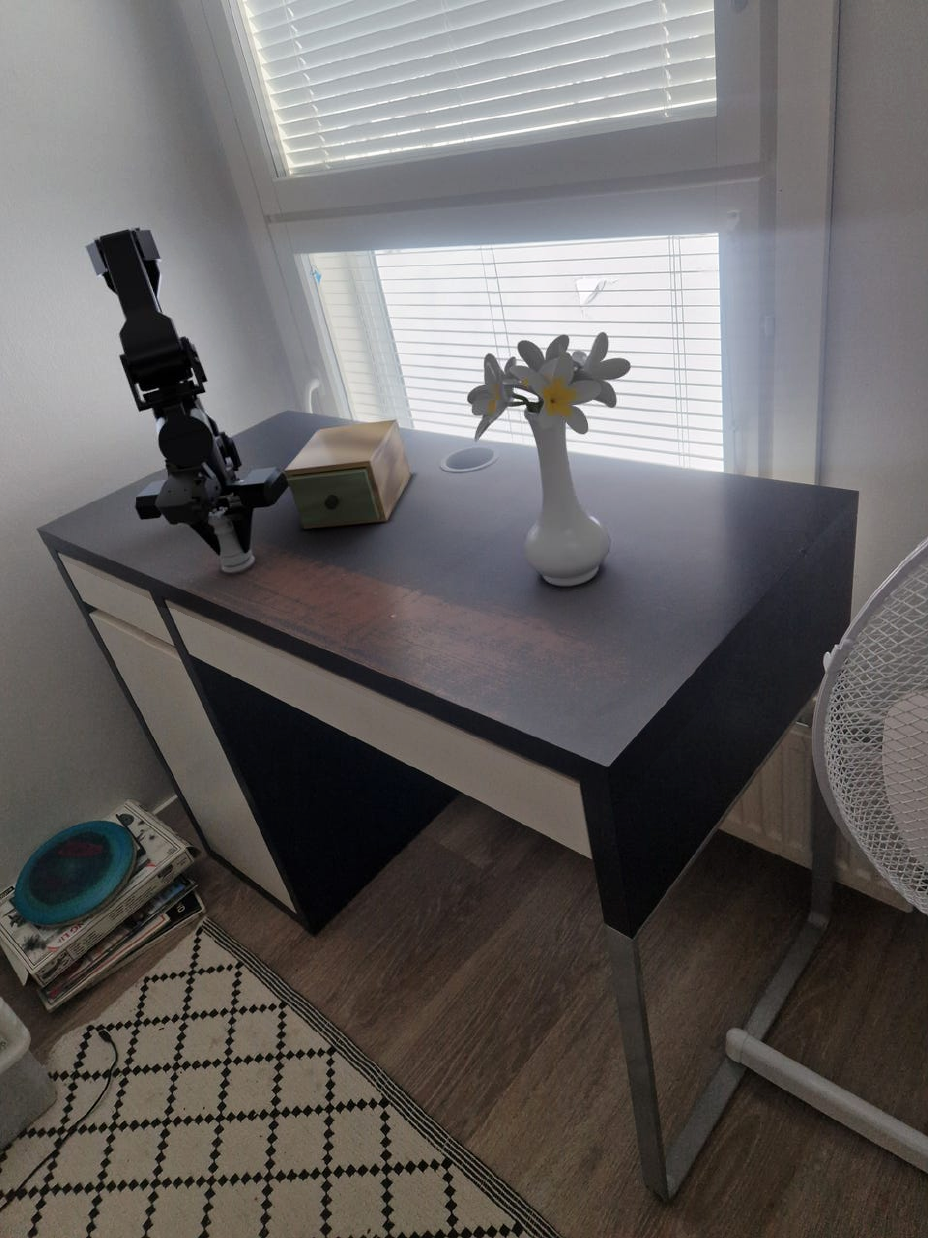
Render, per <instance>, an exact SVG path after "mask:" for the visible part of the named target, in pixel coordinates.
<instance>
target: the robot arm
mask: <svg viewBox="0 0 928 1238" xmlns="http://www.w3.org/2000/svg"><path fill="white" fill-rule="evenodd" d="M84 248H85V251H86V253H87V255H88V259H89V260H90V263H91V265H92V268H93V270H94V273H95V276H96V277H98V278H99V279H100V278H103V279H104V281H105V283H106V286H107V287H108V289H109V290H111V292H112V293H114V294H115V295H116V296H117V299H118V301H119V305H120V308H121V311H122V315H123V317H124V320H125V321H124V322H123V324H122V326H121V328H120V329H119V332H118V337H119V341H120V345H121V348H122V351H123V353H120V354H118V357H119V361H120V363H121V366H122V369H123V372H124V375H125V377H126V380H127V382H128V385H129V388H130V391H131V394H132V396H133V399H134V402H135V405H136V408H137V411H138V412H139V413H141V412H144V411H147V410H150V411H151V414H152V416H153V419H154V421H155V423H156V424H155V425H156V426H155V427H156V436H157V444H158V448H159V451H160V453H161V454H162V456H163V457H164V458H165V459H164V463H165V464H164V465H165V468H166V471H167V479H163V480H154V481H152V482H150V483H149V484H148V485H147V486H146V487H145V488H144V489H143V490H142V491H140V492H139V494H137V496H135V499H134V509H135V511H136V513H137V516H138V518H139V520H141V521H144V520H153V519H154V520H155V519H160V518H161V517H162V516H163V518H165V520H166V521H167V522H168V523H169V525H170V526H171V525H172V526H175V525H176V526H177V525H178V524H184V525H186V526H189V527H190V528H191V529H192V530H193V531H195V533H197V534H198V536H199V537H201V539H202V540H203V541H204V542H205V543H206V544H207V545H208V546H209V547H210V549H212V551H214V553H215V554H216V555H217V556H221V555H220V552H221V548H220V543H219V539H218V537H217V534H215V533H214V530H215V528H214V527H213V526H212V525H210V524H209V523H208V520H209V516H208V515H209V512H212V514H213V511H212V510H214V509H216V510H217V512H218V511H220V509H219V508H220V507H223V508H225V507H227V508H228V509H227V510H226V511H225V512H224V514H223V515H224V516H225V517H227V518H228V519H230V520H231V522H232V525H233V528H234V530H235V533H236V536H237V539H238V541H239V544H240V546H241V548H242V550H243V552H244V553H248V551H249V550H250V549H251V539H252V527H253V515H254V509H261V508H269V507H271V506H274V505H275V504H276V503H277V502H278V500H280V498H281V496H282V495H283V494H284V493H285V491H286V490H287V489H288V488H289V487H290V486H289V483H288V480H287V477H286V474H285V471H283V470H282V469H280V468H279V467H277V466H275V467H267V468H257V469H252V470H251V471H250V473H249V474H248V475H247V476H246V477H245V478H244V479H240V478H239V477H237V476H236V475H237V474H236V473H235V472H238V471H240V467H242V466H243V464H242V460H241V458H240V456H239V455H240V454H239V453H238V450H237V447H236V445H235V441H234V439H233V438H232V437H229V435H228V434H227V433H226V431H225V430H221V431H220V430H219V427H218V424H217V421H216V420H215V418H213V416H211V415H210V414H209V413H207V412H206V411H205V408H204V406H203V405H204V404H203V402H202V400H201V397H200V395H202V394H205V393H207V392H206V388H205V386H204V384H205V383H207V382H208V378H207V375H206V372H205V370H204V367H203V364H202V362H201V361H202V360H201V359H200V355H199V354H198V350H197V348H196V345H195V344H194V343H192V342H191V341H190V340H189V337H187V335H184V336H180V335H179V331H178V330H177V327H176V325H175V322H174V319H173V318H172V317H170V316H169V315H167V314H166V313H164V311H163V308H162V305H161V303H160V300H159V296H160V291H161V286H162V279H163V275H162V271H161V270H160V267H159V265H158V263H161V262H163V260H162V257H161V255H160V252H159V249H158V247H157V244H156V241H155V239H154V236H153V233H152V230H151V229H141V227H140V226H136V227H131V228H128V227H127V228H124V229H119V230H116V231H112V232H109V233H105V234H100V235H99V236H96V237H94V238H93V242H91V243H89V244H87V245H86V246H84ZM194 377H195V379H196V383H195V381H194V380H193V378H194ZM138 387H139V388H138ZM139 390H140V391H141V392H145V393H141V394H142V397H143V399H142V397H141V394H140V391H139ZM224 510H225V509H224Z"/></svg>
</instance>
